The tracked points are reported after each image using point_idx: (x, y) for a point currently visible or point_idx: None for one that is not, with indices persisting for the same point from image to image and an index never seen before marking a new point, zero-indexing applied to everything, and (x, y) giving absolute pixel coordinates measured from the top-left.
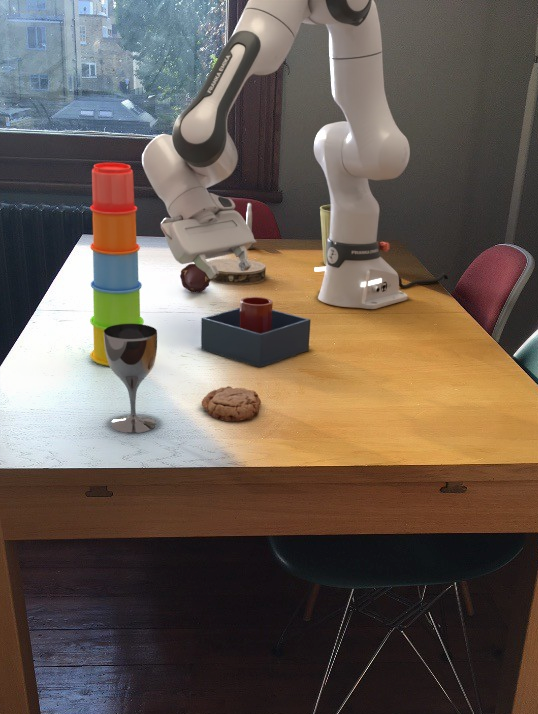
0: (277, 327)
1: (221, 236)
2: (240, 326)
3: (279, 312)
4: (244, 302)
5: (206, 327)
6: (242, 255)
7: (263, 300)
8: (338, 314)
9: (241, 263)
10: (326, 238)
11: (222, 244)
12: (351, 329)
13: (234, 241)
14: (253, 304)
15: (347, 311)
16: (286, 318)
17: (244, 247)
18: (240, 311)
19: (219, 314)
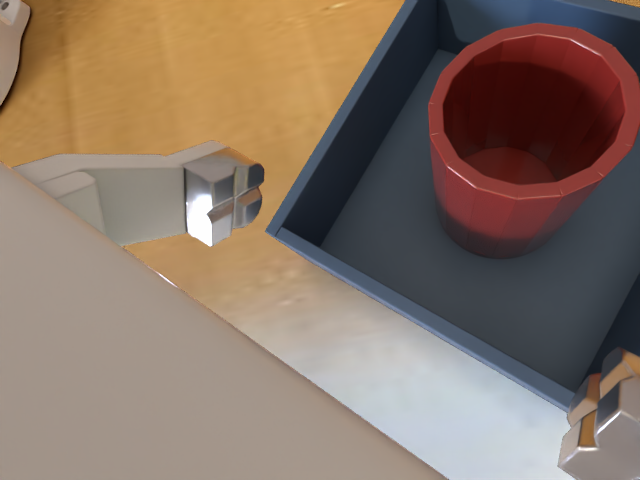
0: (370, 131)
1: (6, 435)
2: (555, 228)
3: (362, 92)
4: (601, 160)
5: None
6: (120, 198)
7: (449, 96)
8: (71, 71)
9: (220, 205)
10: None
11: (237, 371)
12: (195, 6)
13: (26, 224)
14: (629, 97)
15: (45, 58)
16: (384, 70)
17: (29, 167)
18: (563, 209)
19: (498, 349)
